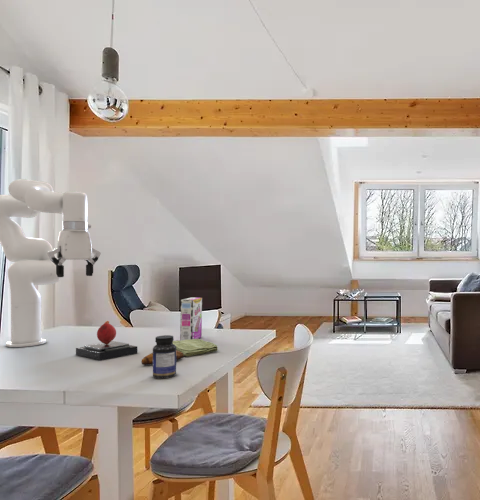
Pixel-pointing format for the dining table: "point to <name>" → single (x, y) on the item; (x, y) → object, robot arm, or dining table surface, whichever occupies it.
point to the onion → (106, 333)
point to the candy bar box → (191, 318)
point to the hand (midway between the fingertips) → (75, 276)
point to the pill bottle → (164, 357)
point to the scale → (106, 352)
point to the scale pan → (105, 346)
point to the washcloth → (194, 347)
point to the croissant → (149, 358)
